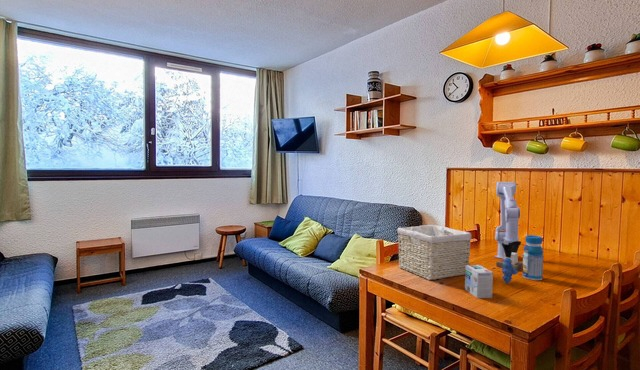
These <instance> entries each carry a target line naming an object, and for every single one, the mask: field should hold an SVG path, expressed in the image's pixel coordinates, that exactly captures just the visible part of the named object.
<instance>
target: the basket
mask: <svg viewBox="0 0 640 370" xmlns="http://www.w3.org/2000/svg"><path fill="white" fill-rule="evenodd" d="M397 234H398V237H397V238H398V267H399V269H403V270H406V271H407V272H410V273H412V274H414V275H416V276H419V277H422V278H424V279H426V280H428V281H431V280H437V279H445V278H452V277H458V276H459V277H460V276H463V275H465V268H466V265H470V252H471V240H472V233H471V232H469V231H464V230H463V231H462V230H458V229H454V228H451V227H450V228H449V227H447V226H441V225H437V224H436V225H435V224H428V225H427V224H426V225H425V224H424V225H419V226H409V227H407V226H406V227H398V228H397Z"/></svg>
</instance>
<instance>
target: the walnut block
mask: <svg viewBox="0 0 640 370" xmlns="http://www.w3.org/2000/svg"><path fill="white" fill-rule="evenodd" d="M503 260H504V259H502V260H499V261H496V265H495V266H496V267H497V268H501V269H502V268H504V267H503V265H502V264H503V263H504V261H503ZM512 266H513V267H512V268H515V269H516V270H517V271H518V272H519V271H520V270H523V261H518V263H516V264H512Z"/></svg>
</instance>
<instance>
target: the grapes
mask: <svg viewBox="0 0 640 370" xmlns="http://www.w3.org/2000/svg"><path fill="white" fill-rule="evenodd" d="M502 260H503V261H504V262H505V263H503V264H502V265H503V267H504V268H501V272H502V274H503V275H502V276H501V278H502V280H503V282H505V283H506V284H509V283H511V282H512V280H513V277H512V276H513V275H514V276H516V275H517V274H518V273H519V270H518V271H517V270H516V269H515V268H512V267H513V266H512V264H511V263H512V261H511V259H509V258H505V259H502Z"/></svg>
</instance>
